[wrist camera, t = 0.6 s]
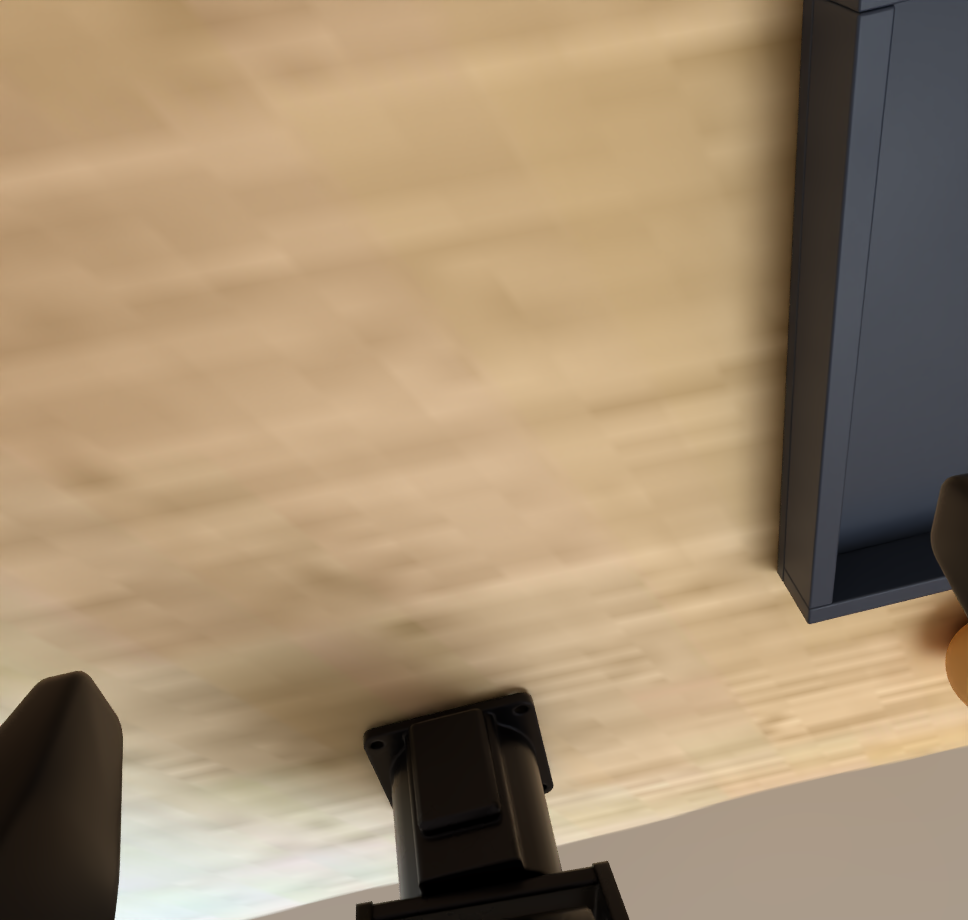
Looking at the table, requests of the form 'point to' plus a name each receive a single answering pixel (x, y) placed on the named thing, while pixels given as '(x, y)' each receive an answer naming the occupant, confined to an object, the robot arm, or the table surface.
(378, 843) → the table surface
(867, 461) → the tray
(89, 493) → the table surface
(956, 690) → the figurine
